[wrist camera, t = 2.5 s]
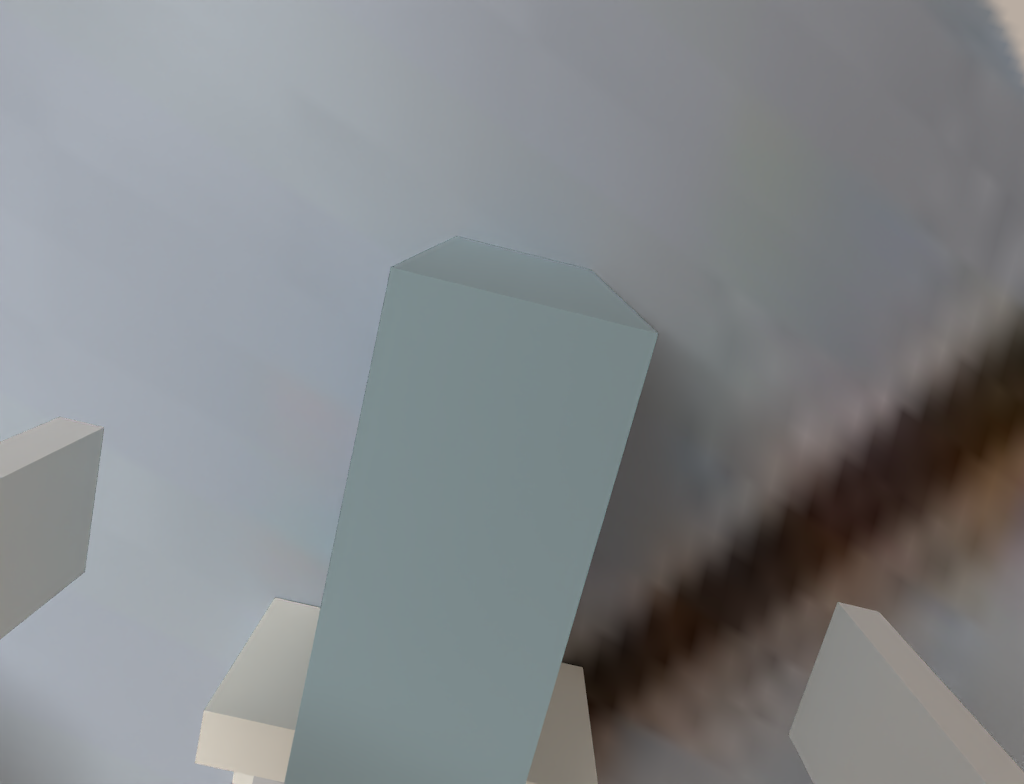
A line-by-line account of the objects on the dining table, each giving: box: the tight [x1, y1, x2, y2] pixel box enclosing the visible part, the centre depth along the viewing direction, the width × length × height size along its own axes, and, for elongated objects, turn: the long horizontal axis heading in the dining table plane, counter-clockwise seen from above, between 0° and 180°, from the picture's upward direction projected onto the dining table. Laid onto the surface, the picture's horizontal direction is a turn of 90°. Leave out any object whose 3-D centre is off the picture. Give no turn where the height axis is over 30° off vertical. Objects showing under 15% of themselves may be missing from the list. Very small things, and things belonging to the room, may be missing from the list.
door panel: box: [284, 236, 658, 784], centre depth 16 cm, size 10×4×10 cm, turn 166°
